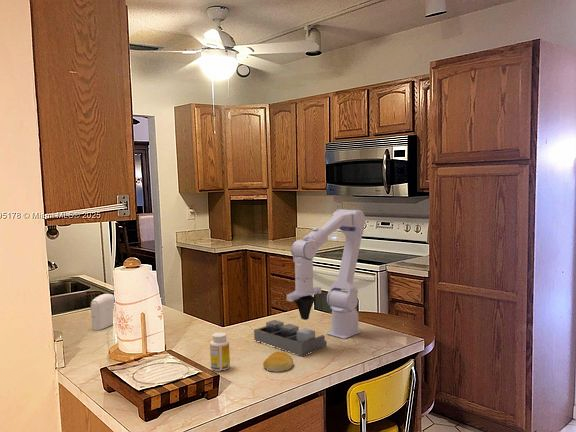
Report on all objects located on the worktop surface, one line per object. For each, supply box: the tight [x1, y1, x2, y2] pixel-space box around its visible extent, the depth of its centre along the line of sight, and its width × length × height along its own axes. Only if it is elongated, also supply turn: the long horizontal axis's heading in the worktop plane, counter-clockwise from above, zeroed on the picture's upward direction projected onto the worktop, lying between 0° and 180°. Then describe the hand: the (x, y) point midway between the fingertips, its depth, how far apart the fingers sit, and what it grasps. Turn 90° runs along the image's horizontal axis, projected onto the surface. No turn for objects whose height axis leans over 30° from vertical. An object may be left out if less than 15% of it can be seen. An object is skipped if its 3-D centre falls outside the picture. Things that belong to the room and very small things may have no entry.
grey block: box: [297, 327, 316, 343], centre depth 161 cm, size 4×4×5 cm
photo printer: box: [90, 293, 115, 331], centre depth 190 cm, size 10×4×12 cm, turn 160°
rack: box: [253, 319, 328, 357], centre depth 167 cm, size 12×22×6 cm, turn 46°
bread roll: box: [262, 351, 294, 372], centre depth 147 cm, size 8×9×4 cm
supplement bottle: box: [209, 332, 231, 372], centre depth 147 cm, size 6×6×10 cm
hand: (304, 319), depth 161 cm, fingers closed
